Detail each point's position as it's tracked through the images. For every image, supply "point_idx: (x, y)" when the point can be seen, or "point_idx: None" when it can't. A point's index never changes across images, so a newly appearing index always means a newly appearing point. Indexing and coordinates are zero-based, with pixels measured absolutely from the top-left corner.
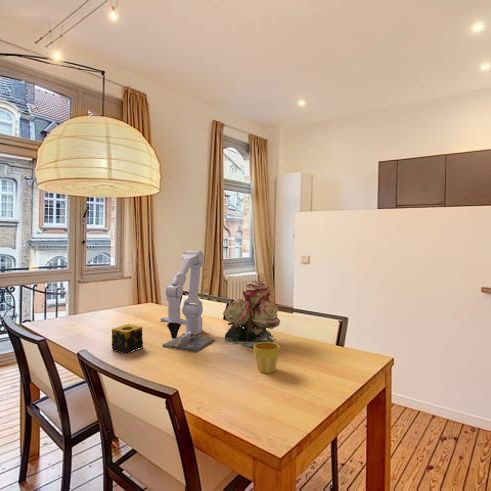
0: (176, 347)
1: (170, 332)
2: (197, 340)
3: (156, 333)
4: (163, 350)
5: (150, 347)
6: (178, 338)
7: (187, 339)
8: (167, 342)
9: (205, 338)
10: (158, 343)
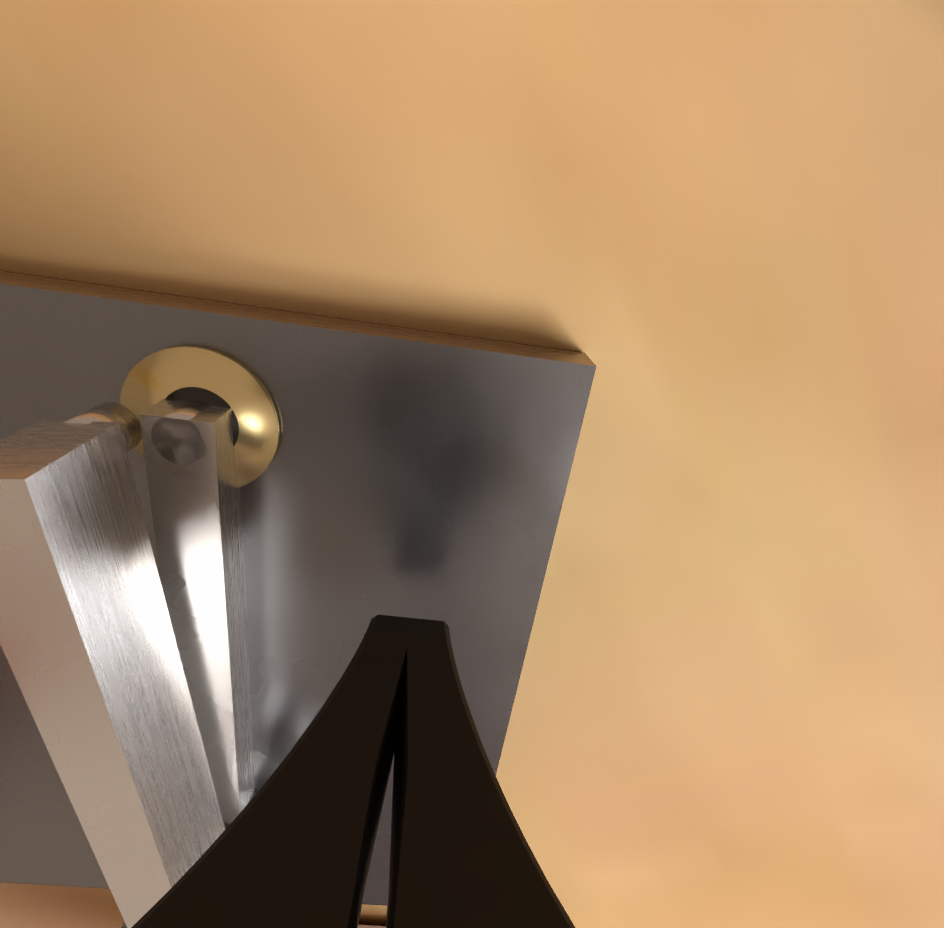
0: (162, 303)
1: (479, 760)
2: (46, 761)
3: (920, 875)
4: (440, 85)
5: (875, 222)
6: None
7: None
8: (546, 533)
9: (5, 855)
10: (756, 520)
